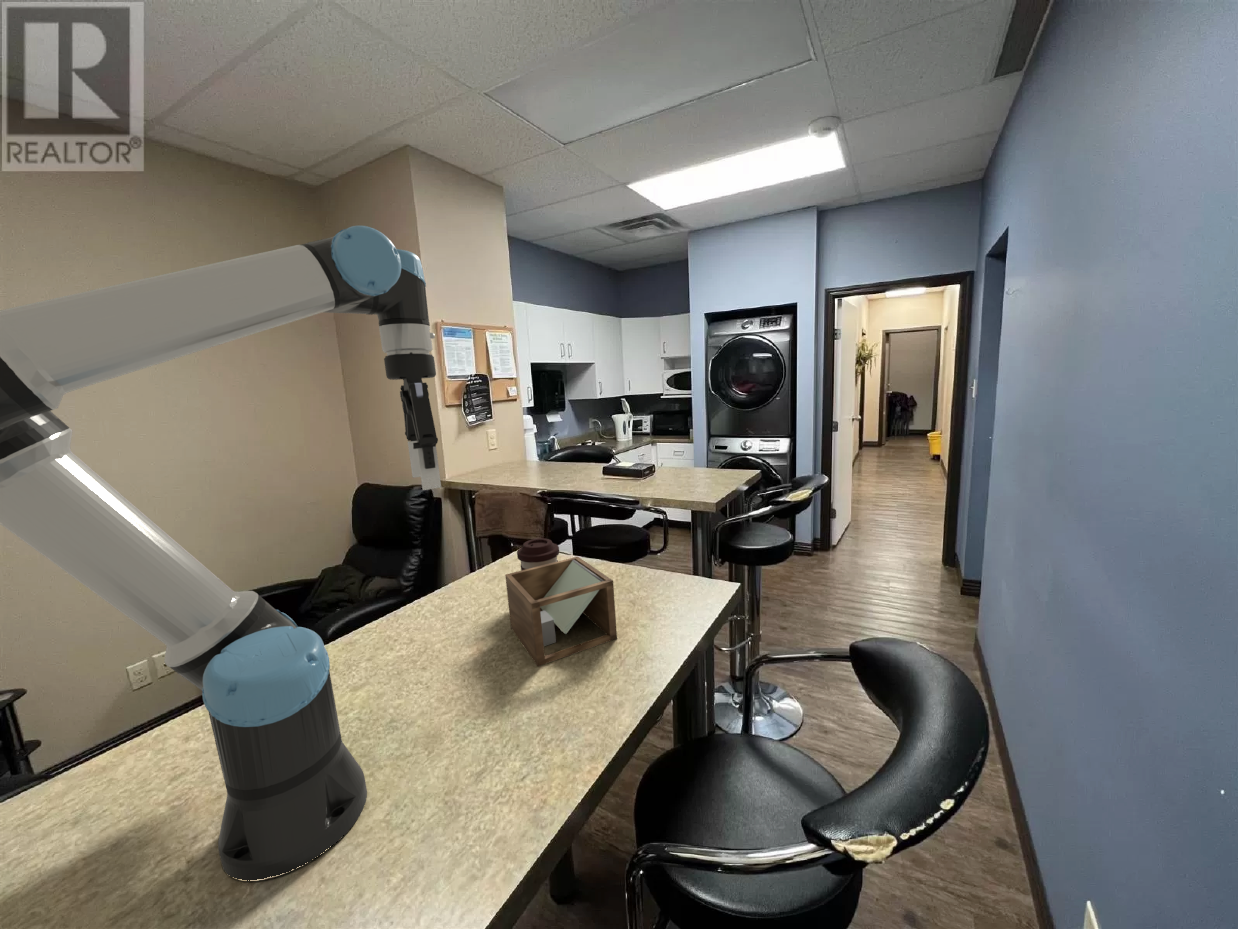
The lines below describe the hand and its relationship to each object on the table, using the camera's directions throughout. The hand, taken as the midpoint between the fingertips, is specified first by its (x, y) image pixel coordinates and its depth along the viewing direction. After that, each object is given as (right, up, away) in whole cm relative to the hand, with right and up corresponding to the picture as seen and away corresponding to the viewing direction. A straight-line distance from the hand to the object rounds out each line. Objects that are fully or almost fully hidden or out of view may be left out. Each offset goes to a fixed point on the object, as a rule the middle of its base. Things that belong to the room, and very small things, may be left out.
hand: (425, 482), depth 81 cm
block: (+18, -30, +18) cm, 40 cm away
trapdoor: (+23, -25, +20) cm, 39 cm away
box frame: (+21, -33, +20) cm, 43 cm away
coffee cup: (+14, -31, +35) cm, 49 cm away
